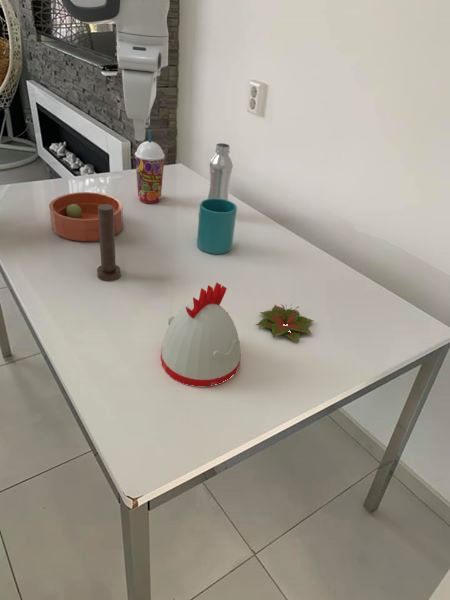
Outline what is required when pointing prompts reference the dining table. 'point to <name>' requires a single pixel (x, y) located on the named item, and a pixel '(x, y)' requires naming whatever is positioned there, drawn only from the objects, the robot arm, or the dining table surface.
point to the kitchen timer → (201, 342)
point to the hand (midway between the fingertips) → (142, 133)
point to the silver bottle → (220, 172)
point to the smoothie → (149, 171)
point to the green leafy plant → (285, 322)
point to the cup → (216, 225)
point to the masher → (107, 245)
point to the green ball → (74, 211)
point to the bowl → (83, 215)
